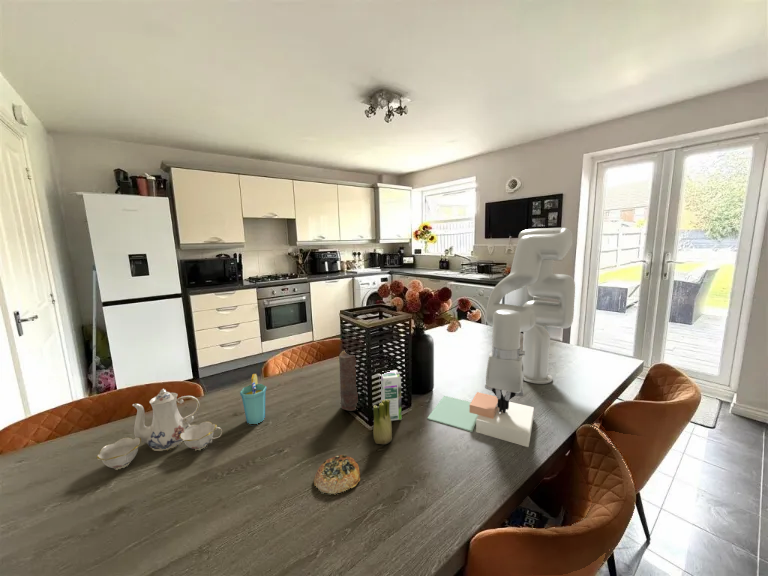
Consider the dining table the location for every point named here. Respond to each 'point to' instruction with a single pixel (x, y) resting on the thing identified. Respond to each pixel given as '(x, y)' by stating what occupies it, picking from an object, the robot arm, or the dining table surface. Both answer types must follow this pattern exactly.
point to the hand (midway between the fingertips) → (502, 410)
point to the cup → (254, 401)
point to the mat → (454, 413)
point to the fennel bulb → (382, 423)
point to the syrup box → (392, 393)
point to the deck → (508, 424)
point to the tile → (484, 405)
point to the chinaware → (159, 431)
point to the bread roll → (337, 474)
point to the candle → (348, 381)
